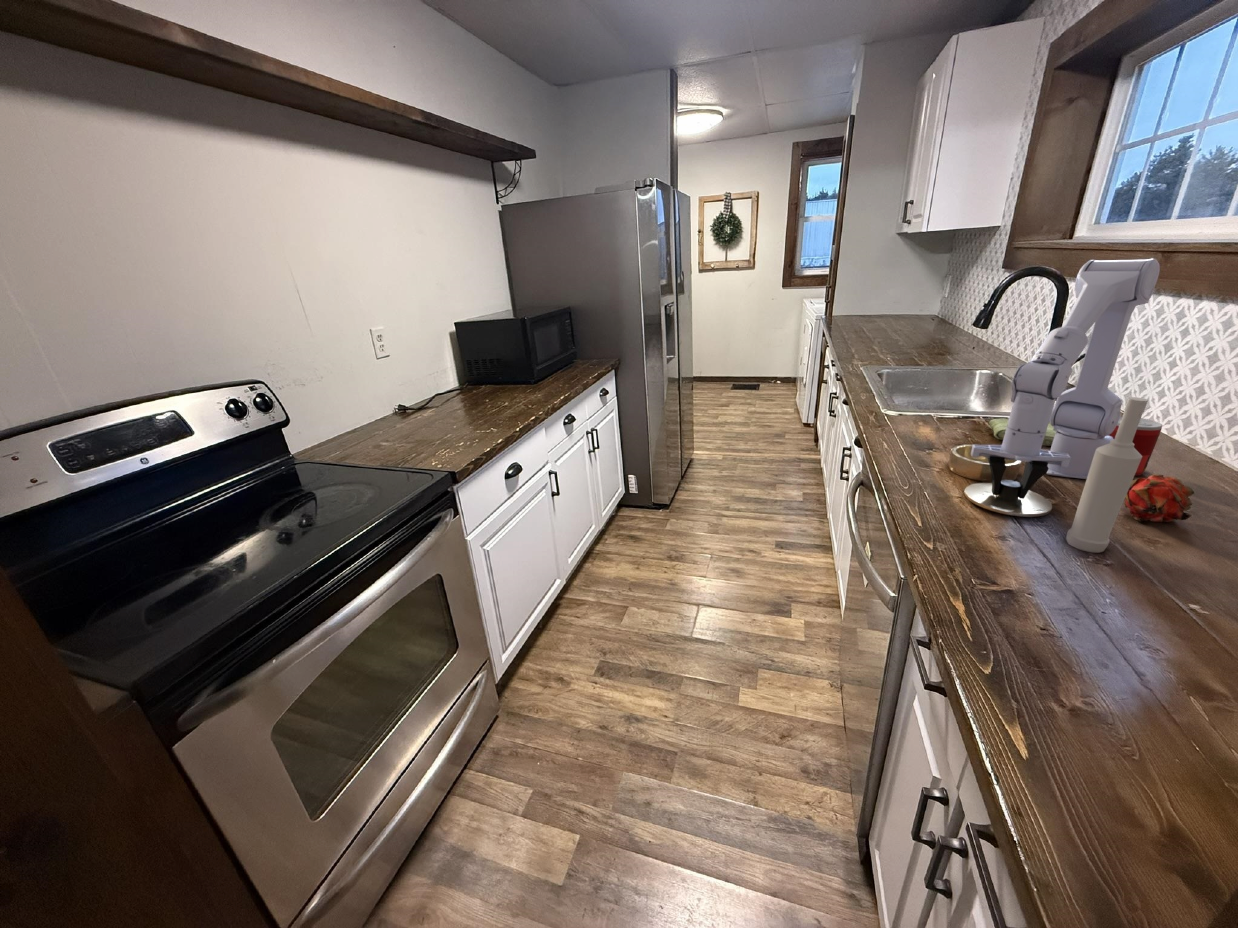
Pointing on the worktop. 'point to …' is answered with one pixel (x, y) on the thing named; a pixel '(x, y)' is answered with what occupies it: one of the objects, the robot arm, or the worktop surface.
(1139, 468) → the canned food
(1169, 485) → the dragon fruit
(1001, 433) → the washcloth
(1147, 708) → the worktop surface
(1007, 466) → the pot
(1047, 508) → the lid
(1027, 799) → the worktop surface
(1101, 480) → the bottle
